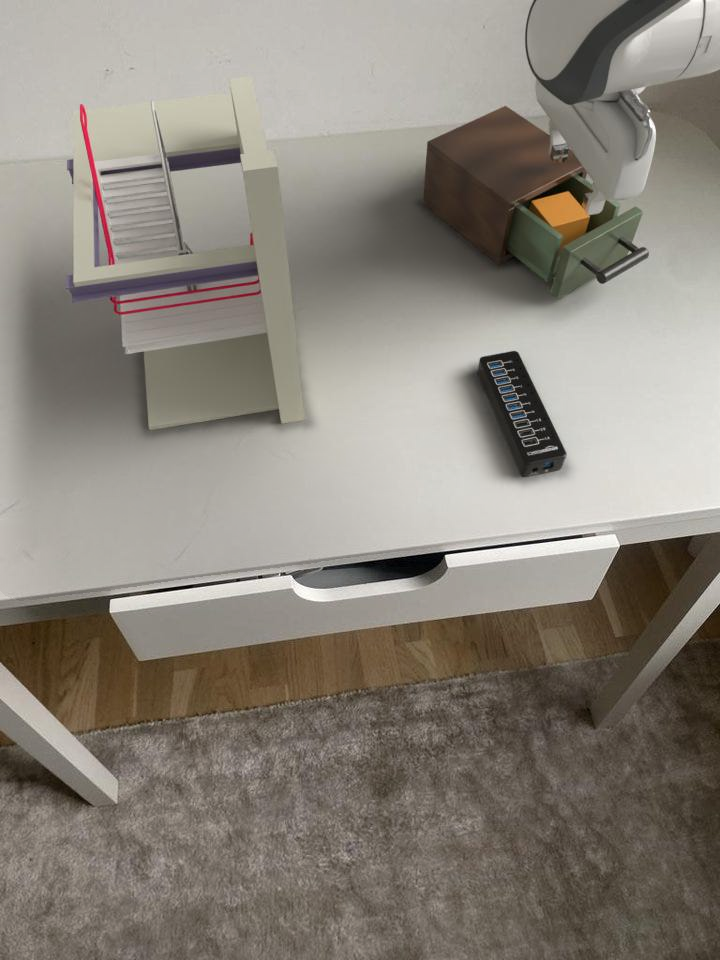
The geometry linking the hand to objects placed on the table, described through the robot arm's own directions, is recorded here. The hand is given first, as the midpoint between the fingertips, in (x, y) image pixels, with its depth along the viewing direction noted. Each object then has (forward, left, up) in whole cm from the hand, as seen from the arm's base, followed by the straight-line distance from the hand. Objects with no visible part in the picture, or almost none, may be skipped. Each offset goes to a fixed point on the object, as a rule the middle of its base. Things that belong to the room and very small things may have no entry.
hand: (573, 184), depth 85 cm
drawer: (0, +1, -9) cm, 10 cm away
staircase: (+43, +3, -10) cm, 45 cm away
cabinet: (+4, -10, -10) cm, 15 cm away
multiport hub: (+13, +22, -10) cm, 28 cm away
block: (+1, 0, -8) cm, 8 cm away
